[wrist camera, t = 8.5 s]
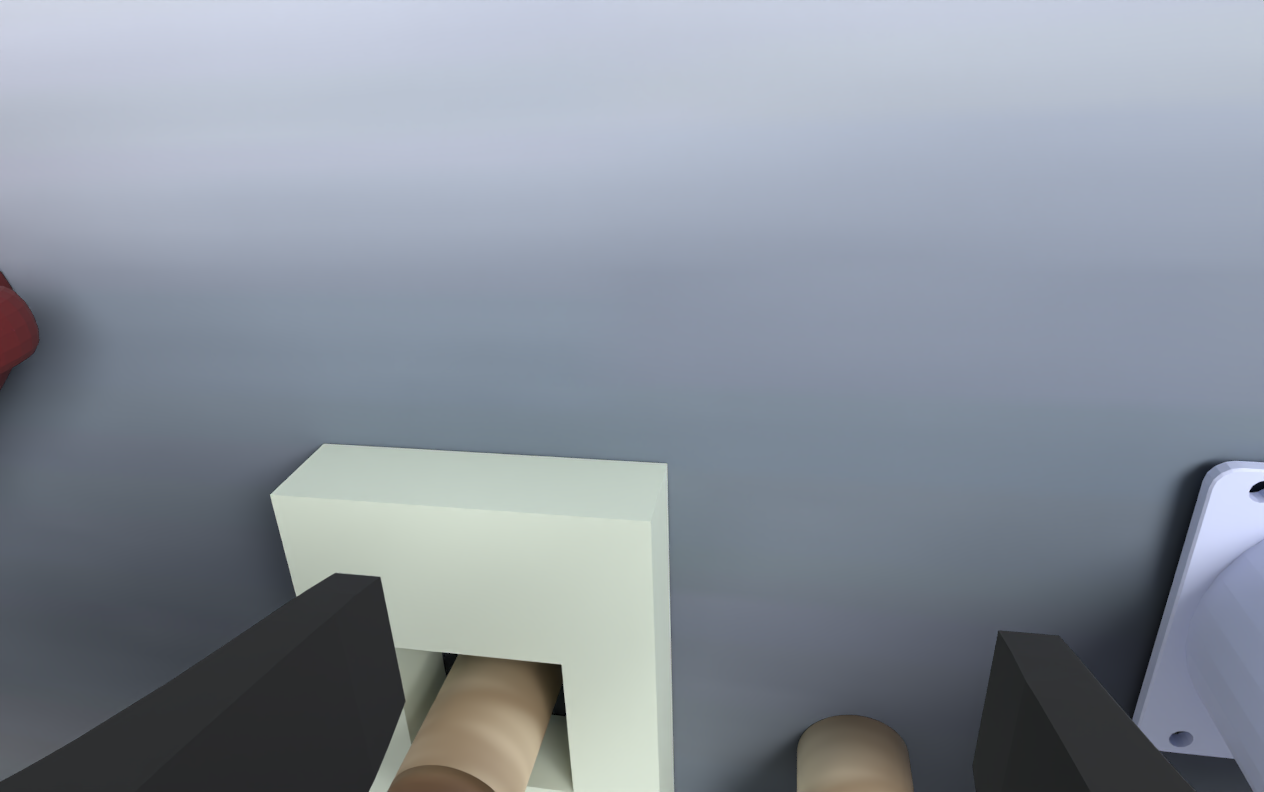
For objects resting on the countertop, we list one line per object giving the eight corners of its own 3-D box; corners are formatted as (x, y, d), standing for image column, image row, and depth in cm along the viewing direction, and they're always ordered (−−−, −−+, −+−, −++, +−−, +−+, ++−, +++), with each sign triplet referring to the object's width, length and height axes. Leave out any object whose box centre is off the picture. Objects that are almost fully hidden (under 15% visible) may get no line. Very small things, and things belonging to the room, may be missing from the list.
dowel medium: (572, 634, 23) (511, 805, 18) (558, 711, 24) (497, 890, 20) (468, 607, 23) (381, 768, 18) (460, 684, 25) (376, 854, 20)
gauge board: (667, 463, 20) (651, 521, 18) (674, 831, 26) (662, 910, 24) (324, 443, 22) (269, 495, 20) (401, 794, 27) (365, 865, 25)
